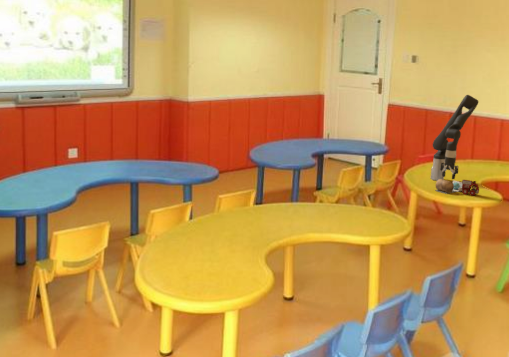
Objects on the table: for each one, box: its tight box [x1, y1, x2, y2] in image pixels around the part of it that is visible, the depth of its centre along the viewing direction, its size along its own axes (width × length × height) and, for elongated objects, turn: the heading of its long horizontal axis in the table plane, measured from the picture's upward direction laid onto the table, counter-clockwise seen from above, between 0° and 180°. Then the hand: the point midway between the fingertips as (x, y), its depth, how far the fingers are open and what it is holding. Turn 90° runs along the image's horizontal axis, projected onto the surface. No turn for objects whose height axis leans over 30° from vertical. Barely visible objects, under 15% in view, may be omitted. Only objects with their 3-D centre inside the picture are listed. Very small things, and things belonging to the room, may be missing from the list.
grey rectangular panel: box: [435, 188, 460, 195], centre depth 483 cm, size 10×21×1 cm, turn 125°
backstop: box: [452, 180, 462, 192], centre depth 486 cm, size 11×7×5 cm, turn 35°
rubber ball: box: [454, 183, 460, 189], centre depth 486 cm, size 5×5×5 cm
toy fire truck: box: [461, 179, 480, 197], centre depth 473 cm, size 7×12×10 cm, turn 60°
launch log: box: [435, 179, 454, 194], centre depth 478 cm, size 10×8×8 cm
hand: (448, 177), depth 479 cm, fingers open, 8 cm apart
